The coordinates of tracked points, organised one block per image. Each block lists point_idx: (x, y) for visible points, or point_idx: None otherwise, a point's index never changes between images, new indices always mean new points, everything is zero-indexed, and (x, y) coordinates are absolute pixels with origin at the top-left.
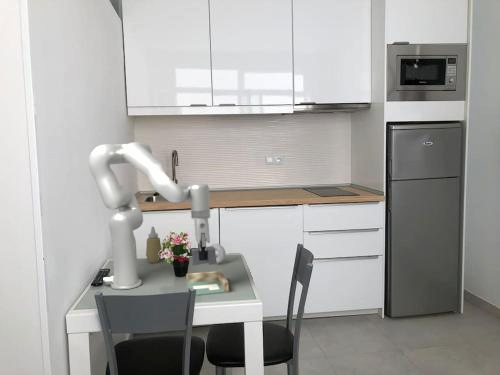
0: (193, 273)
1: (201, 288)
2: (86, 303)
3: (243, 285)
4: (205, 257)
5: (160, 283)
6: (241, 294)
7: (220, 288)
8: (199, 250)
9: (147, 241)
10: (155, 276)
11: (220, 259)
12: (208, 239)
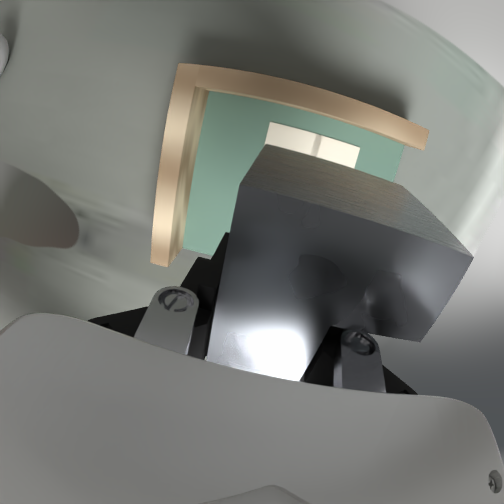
0: (155, 228)
1: None
2: None
3: (347, 17)
4: None
5: None
6: (455, 99)
7: (349, 137)
8: (296, 380)
9: None
10: (66, 303)
11: (1, 51)
12: (492, 461)
